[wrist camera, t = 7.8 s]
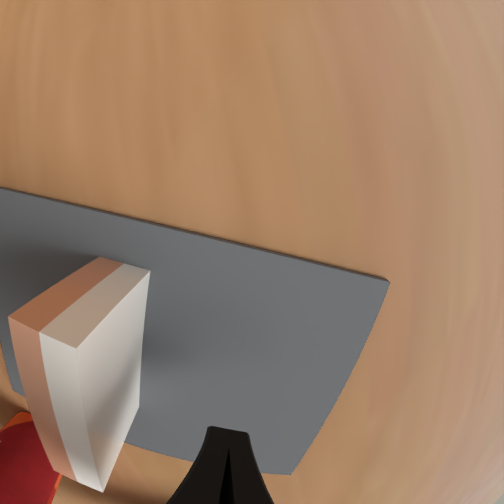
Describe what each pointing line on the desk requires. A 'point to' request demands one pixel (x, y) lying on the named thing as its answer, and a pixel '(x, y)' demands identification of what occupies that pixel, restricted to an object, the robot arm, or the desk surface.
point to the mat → (204, 325)
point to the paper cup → (25, 464)
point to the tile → (83, 365)
